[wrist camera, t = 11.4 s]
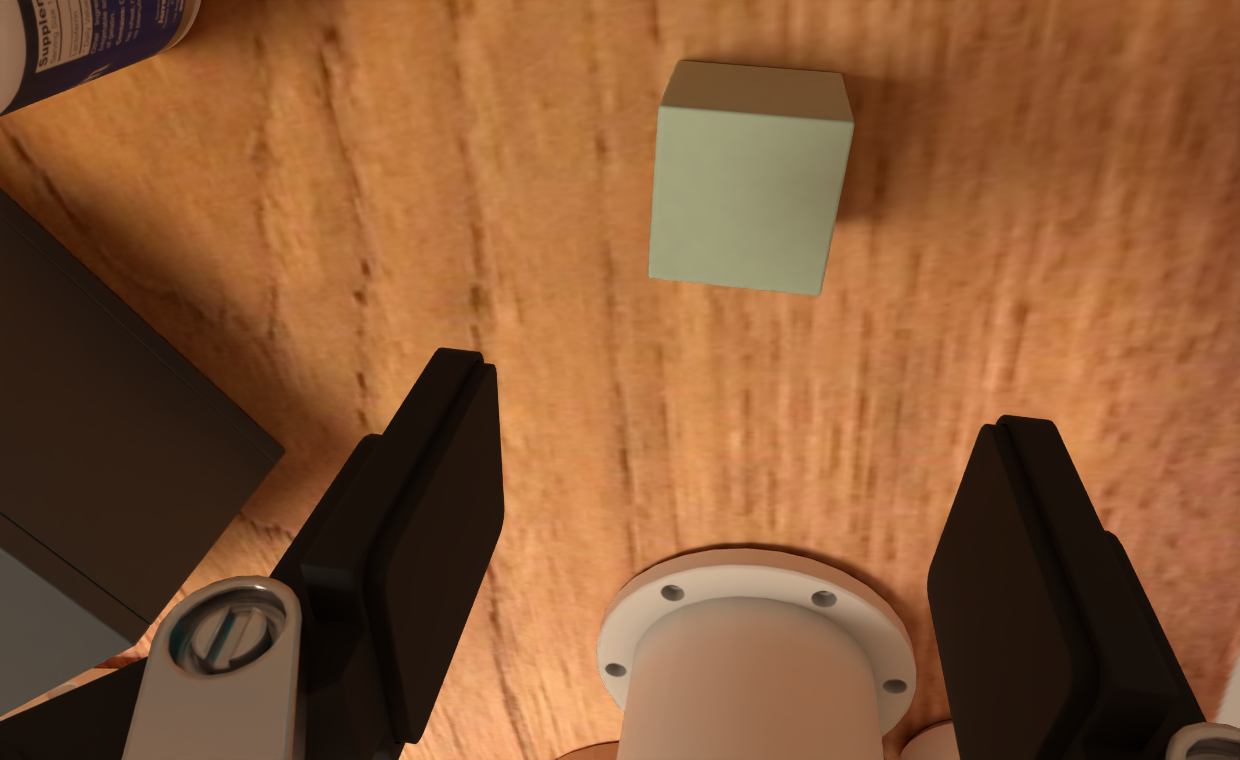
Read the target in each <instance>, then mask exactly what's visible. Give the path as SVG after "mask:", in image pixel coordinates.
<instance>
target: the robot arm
mask: <svg viewBox="0 0 1240 760" xmlns="http://www.w3.org/2000/svg"><path fill="white" fill-rule="evenodd" d="M503 520H504V492H503V474H502V457H501V439H500V422H499V404H498V387H497V372H496V367H495V365H494V364H487V363H484V358H483V356H482V354H481V353H480V352H476V351H467V350H459V349H451V348H438V350H437V351H436V352H435V353H434V355H433V356H432V358H431V359H430V361H429V363H428V364H427V366H426V367H425V369H424V370H423V372H422V373H421V375H420V377H419V378H418V380H417V381H416V383H415V384H414V386H413V388H412V389H411V391H410V392H409V394H408V395H407V397H406V398H405V400H404V402H403V403H402V405H401V406H400V408H399V409H398V411H397V412H396V414H395V416H394V417H393V419H392V420H391V422H390V423H389V425H388V427H387V428H386V430H385V431H384V433H383V434H382V435H379V434H372V433H371V434H369V435H367V436H365V437H364V438H363V439H362V440H361V441H360V442H359V443H358V445H357V446H356V448H355V449H354V451H353V452H352V454H351V455H350V457H349V458H348V460H347V461H346V463H345V464H344V466H343V467H342V469H341V470H340V472H339V473H338V475H337V476H336V478H335V479H334V481H333V482H332V484H331V485H330V487H329V488H328V490H327V491H326V493H325V494H324V496H323V497H322V499H321V500H320V502H319V503H318V505H317V506H316V508H315V509H314V511H313V512H312V514H311V515H310V517H309V518H308V520H307V521H306V522H305V524H304V525H303V527H302V528H301V530H300V531H299V533H298V534H297V536H296V537H295V539H294V540H293V542H292V543H291V545H290V546H289V548H288V549H287V551H286V552H285V554H284V555H283V557H282V558H281V560H280V561H279V563H278V564H277V566H276V567H275V569H274V570H273V572H272V573H271V575H270V576H269V578H268V577H263V576H259V575H256V576H236V577H232V578H228V579H225V580H221V581H217V582H214V583H212V584H210V585H208V586H205V587H203V588H201V589H199V590H197V591H195V592H193V593H192V594H190V595H189V596H188V597H186V598H185V599H184V600H182V601H181V602H180V603H178V604H177V605H176V606H174V608H173V609H172V610H171V611H170V612H169V613H168V615H167V616H166V617H165V618H164V619H163V620H162V622H161V623H160V625H159V627H158V629H157V632H156V634H155V636H154V638H153V640H152V644H151V648H150V652H149V656H148V657H146V658H144V659H141V660H139V661H137V662H134V663H132V664H130V665H127V666H125V667H123V668H121V669H118V670H116V671H114V672H111V673H109V674H107V675H105V676H102V677H100V678H98V679H95V680H93V681H91V682H89V683H86V684H84V685H82V686H79V687H77V688H75V689H73V690H70V691H68V692H66V693H63V694H61V695H59V696H56V697H54V698H52V699H50V700H47V701H45V702H43V703H40V704H38V705H36V706H34V707H31V708H29V709H27V710H24V711H22V712H20V713H18V714H15V715H13V716H11V717H8V718H6V719H4V720H1V721H0V760H399V757H400V755H401V752H402V750H403V747H404V745H405V742H406V743H411V744H416V743H418V742H419V740H420V739H421V737H422V735H423V732H424V730H425V728H426V725H427V722H428V720H429V717H430V715H431V712H432V709H433V707H434V704H435V702H436V699H437V696H438V694H439V691H440V689H441V686H442V684H443V681H444V678H445V676H446V673H447V671H448V668H449V665H450V663H451V660H452V658H453V655H454V652H455V650H456V647H457V645H458V642H459V640H460V637H461V634H462V632H463V629H464V627H465V624H466V621H467V619H468V616H469V614H470V611H471V608H472V606H473V603H474V601H475V598H476V596H477V593H478V590H479V588H480V585H481V583H482V580H483V577H484V575H485V572H486V570H487V567H488V564H489V562H490V559H491V557H492V554H493V552H494V549H495V546H496V544H497V541H498V539H499V536H500V533H501V530H502V525H503ZM927 592H928V599H929V604H930V609H931V614H932V619H933V624H934V630H935V635H936V640H937V645H938V650H939V655H940V660H941V665H942V670H943V675H944V681H945V686H946V691H947V696H948V701H949V706H950V711H951V716H952V721H953V727H954V732H955V737H956V742H957V747H958V752H959V757H960V760H1240V729H1239V728H1236V727H1233V726H1230V725H1227V724H1217V723H1207V721H1206V719H1205V717H1204V715H1203V713H1202V711H1201V709H1200V707H1199V705H1198V703H1197V700H1196V698H1195V696H1194V694H1193V692H1192V690H1191V688H1190V686H1189V684H1188V682H1187V680H1186V677H1185V675H1184V673H1183V671H1182V669H1181V667H1180V665H1179V663H1178V661H1177V659H1176V657H1175V654H1174V652H1173V650H1172V648H1171V646H1170V644H1169V642H1168V640H1167V638H1166V636H1165V634H1164V631H1163V629H1162V627H1161V625H1160V623H1159V621H1158V619H1157V617H1156V615H1155V613H1154V610H1153V608H1152V606H1151V604H1150V602H1149V600H1148V598H1147V596H1146V594H1145V592H1144V590H1143V587H1142V585H1141V583H1140V581H1139V579H1138V577H1137V575H1136V573H1135V571H1134V569H1133V567H1132V564H1131V562H1130V560H1129V558H1128V556H1127V554H1126V552H1125V550H1124V548H1123V546H1122V544H1121V543H1120V541H1119V540H1118V538H1117V537H1116V536H1115V535H1114V534H1112V533H1111V532H1109V531H1105V530H1104V529H1103V527H1102V525H1101V523H1100V520H1099V518H1098V516H1097V514H1096V512H1095V510H1094V507H1093V505H1092V503H1091V501H1090V499H1089V497H1088V494H1087V492H1086V490H1085V488H1084V486H1083V484H1082V481H1081V479H1080V477H1079V475H1078V473H1077V471H1076V468H1075V466H1074V464H1073V462H1072V460H1071V458H1070V455H1069V453H1068V451H1067V449H1066V447H1065V445H1064V442H1063V440H1062V438H1061V436H1060V434H1059V432H1058V429H1057V427H1056V426H1055V424H1054V423H1053V422H1052V421H1050V420H1045V419H1037V418H1028V417H1020V416H1012V415H1003V416H1001V417H1000V418H999V419H998V421H997V422H996V425H992V424H985V425H983V427H982V428H981V430H980V432H979V434H978V437H977V440H976V442H975V445H974V448H973V451H972V453H971V456H970V459H969V461H968V464H967V467H966V470H965V472H964V475H963V478H962V481H961V483H960V486H959V489H958V492H957V494H956V497H955V500H954V503H953V505H952V508H951V511H950V513H949V516H948V519H947V522H946V524H945V527H944V530H943V533H942V535H941V538H940V541H939V544H938V546H937V549H936V552H935V555H934V557H933V560H932V563H931V565H930V569H929V573H928V581H927ZM596 658H597V668H598V672H599V674H600V676H601V679H602V681H603V684H604V686H605V688H606V690H607V692H608V693H609V694H610V696H611V697H612V699H613V700H614V701H615V703H616V704H617V706H618V707H619V708H620V709H621V710H622V711H623V712H624V717H623V723H622V729H621V735H620V741H619V747H618V752H617V758H616V760H884V754H883V745H882V737H883V736H884V735H886V734H887V733H888V732H889V731H890V730H892V729H893V728H894V727H895V726H896V725H897V724H898V723H899V721H900V720H901V719H902V717H903V716H904V715H905V713H906V712H907V711H908V709H909V707H910V704H911V701H912V699H913V696H914V693H915V691H916V672H917V671H916V665H915V659H914V653H913V647H912V643H911V640H910V638H909V636H908V633H907V631H906V628H905V626H904V624H903V622H902V621H901V619H900V618H899V617H898V616H897V614H896V613H895V612H894V610H893V609H892V608H891V606H890V605H889V604H888V603H887V602H886V601H885V600H884V599H882V598H881V597H880V596H879V595H878V594H877V593H875V592H874V591H873V590H872V589H871V588H869V587H868V586H867V585H865V584H863V583H862V582H860V581H858V580H857V579H855V578H853V577H851V576H850V575H848V574H846V573H845V572H843V571H841V570H838V569H836V568H833V567H831V566H828V565H826V564H823V563H820V562H818V561H815V560H813V559H809V558H805V557H801V556H796V555H792V554H788V553H784V552H779V551H769V550H759V549H748V548H742V549H717V550H709V551H704V552H698V553H693V554H687V555H683V556H680V557H677V558H674V559H671V560H669V561H666V562H663V563H660V564H657V565H655V566H654V567H652V568H650V569H648V570H647V571H645V572H643V573H641V574H640V575H638V576H636V577H634V578H633V579H632V580H631V581H630V582H629V583H628V584H627V585H625V586H624V587H623V588H622V589H621V590H620V591H619V592H618V593H617V594H616V596H615V597H614V599H613V600H612V602H611V603H610V605H609V606H608V608H607V609H606V612H605V615H604V618H603V621H602V624H601V627H600V632H599V638H598V644H597V650H596Z"/></svg>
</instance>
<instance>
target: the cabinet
mask: <svg viewBox="0 0 1240 760" xmlns="http://www.w3.org/2000/svg"><path fill="white" fill-rule="evenodd" d="M285 452H286V451H285V450H284V449H283V448H282V447H281V446H280V445H279V444H278V443H277V442H276V441H274V440H273V439H272V438H271V437H270V436H269V435H268V434H267V433H266V432H265V431H264V430H262V429H261V428H260V427H259V426H258V425H257V424H256V423H255V422H254V421H253V420H252V419H250V418H249V417H248V416H247V415H246V414H245V413H244V412H243V411H242V410H241V409H239V408H238V407H237V406H236V405H235V404H234V403H233V402H232V401H231V400H230V399H229V398H227V397H226V396H225V395H224V394H223V393H222V392H221V391H220V390H219V389H218V388H217V387H215V386H214V385H213V384H212V383H211V382H210V381H209V380H208V379H207V378H206V377H205V376H203V375H202V374H201V373H200V372H199V371H198V370H197V369H196V368H195V367H194V366H193V365H191V364H190V363H189V362H188V361H187V360H186V359H185V358H184V357H183V356H182V355H181V354H179V353H178V352H177V351H176V350H175V349H174V348H173V347H172V346H171V345H170V344H169V343H167V342H166V341H165V340H164V339H163V338H162V337H161V336H160V335H159V334H158V333H156V332H155V331H154V330H153V329H152V328H151V327H150V326H149V325H148V324H147V323H146V322H144V321H143V320H142V319H141V318H140V317H139V316H138V315H137V314H136V313H135V312H134V311H132V310H131V309H130V308H129V307H128V306H127V305H126V304H125V303H124V302H123V301H122V300H120V299H119V298H118V297H117V296H116V295H115V294H114V293H113V292H112V291H111V290H110V289H108V288H107V287H106V286H105V285H104V284H103V283H102V282H101V281H100V280H99V279H98V278H96V277H95V276H94V275H93V274H92V273H91V272H90V271H89V270H88V269H87V268H86V267H84V266H83V265H82V264H81V263H80V262H79V261H78V260H77V259H76V258H75V257H73V256H72V255H71V254H70V253H69V252H68V251H67V250H66V249H65V248H64V247H63V246H61V245H60V244H59V243H58V242H57V241H56V240H55V239H54V238H53V237H52V236H51V235H49V234H48V233H47V232H46V231H45V230H44V229H43V228H42V227H41V226H40V225H39V224H37V223H36V222H35V221H34V220H33V219H32V218H31V217H30V216H29V215H28V214H27V213H25V212H24V211H23V210H22V209H21V208H20V207H19V206H18V205H17V204H16V203H15V202H13V201H12V200H11V199H10V198H9V197H8V196H7V195H6V194H5V193H4V192H3V191H1V190H0V717H1V716H3V715H5V714H7V713H9V712H11V711H13V710H14V709H16V708H18V707H20V706H22V705H24V704H26V703H28V702H30V701H31V700H33V699H35V698H37V697H39V696H41V695H43V694H45V693H46V692H48V691H50V690H52V689H54V688H56V687H58V686H60V685H62V684H63V683H65V682H67V681H69V680H71V679H73V678H75V677H77V676H78V675H80V674H82V673H84V672H86V671H88V670H90V669H92V668H94V667H95V666H97V665H99V664H101V663H103V662H105V661H107V660H109V659H110V658H112V657H114V656H116V655H118V654H120V653H122V652H124V651H126V650H127V649H129V648H131V647H133V646H135V645H136V644H137V642H138V641H139V640H140V639H141V637H142V636H143V635H144V633H145V632H146V631H147V630H148V628H149V626H150V625H151V624H153V622H154V621H155V620H156V618H157V617H158V616H159V615H160V613H161V612H162V611H163V609H164V608H165V607H166V606H167V604H168V603H169V602H170V600H171V599H172V598H173V597H174V595H175V594H176V593H177V591H178V590H179V589H180V587H181V586H182V585H183V584H184V582H185V581H186V580H187V578H188V577H189V576H190V575H191V573H192V572H193V571H194V569H195V568H196V567H197V566H198V564H199V563H200V562H201V560H202V559H203V558H204V557H205V555H206V554H207V553H208V551H209V550H210V549H211V548H212V546H213V545H214V544H215V542H216V541H217V540H218V539H219V537H220V536H221V535H222V533H223V532H224V531H225V530H226V528H227V527H228V526H229V524H230V523H231V522H232V520H233V519H234V518H235V517H236V515H237V514H238V513H239V511H240V510H241V509H242V508H243V506H244V505H245V504H246V502H247V501H248V500H249V499H250V497H251V496H252V495H253V493H254V492H255V491H256V490H257V488H258V487H259V486H260V484H261V483H262V482H263V481H264V479H265V478H266V477H267V475H268V474H269V473H270V472H271V470H272V469H273V468H274V466H275V464H277V462H278V461H279V460H280V459H281V457H282V456H283V455H284V453H285Z"/></svg>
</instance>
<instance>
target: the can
mask: <svg viewBox="0 0 1240 760" xmlns="http://www.w3.org/2000/svg"><path fill="white" fill-rule="evenodd" d="M899 760H960V757H959V752H958V747H957V742H956V737H955V732H954V727H953V721H952V720H948V721H944V722H940V723H937V724H934V725H932V726H929V727H927V728H925V729H924V730H922V731H920V732H919V733H918V734H916V735H915V736H914V737H913V738H912V739H911V740H910V742H909V743H908V744H907V745H906V747H905V748H904V749H903V751H902V753H901V755H900V758H899Z"/></svg>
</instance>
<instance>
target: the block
mask: <svg viewBox="0 0 1240 760" xmlns="http://www.w3.org/2000/svg"><path fill="white" fill-rule="evenodd" d="M854 126H855V124H854V120H853V116H852V112H851V108H850V104H849V100H848V96H847V93H846V89H845V85H844V81H843V77H842V74H841V73H833V72H820V71H807V70H795V69H782V68H769V67H756V66H743V65H731V64H718V63H705V62H692V61H678V62H677V64H676V66H675V69H674V71H673V74H672V76H671V78H670V81H669V83H668V86H667V88H666V91H665V93H664V96H663V98H662V100H661V103H660V105H659V108H658V120H657V136H656V152H655V167H654V183H653V198H652V214H651V230H650V245H649V261H648V277H649V278H653V279H663V280H672V281H681V282H691V283H700V284H709V285H719V286H728V287H737V288H747V289H756V290H765V291H775V292H784V293H793V294H803V295H812V296H819V295H820V294H821V290H822V285H823V281H824V276H825V271H826V266H827V261H828V256H829V251H830V246H831V241H832V236H833V231H834V226H835V221H836V216H837V211H838V206H839V201H840V196H841V191H842V186H843V181H844V176H845V171H846V166H847V161H848V156H849V151H850V146H851V141H852V136H853V131H854Z"/></svg>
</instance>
